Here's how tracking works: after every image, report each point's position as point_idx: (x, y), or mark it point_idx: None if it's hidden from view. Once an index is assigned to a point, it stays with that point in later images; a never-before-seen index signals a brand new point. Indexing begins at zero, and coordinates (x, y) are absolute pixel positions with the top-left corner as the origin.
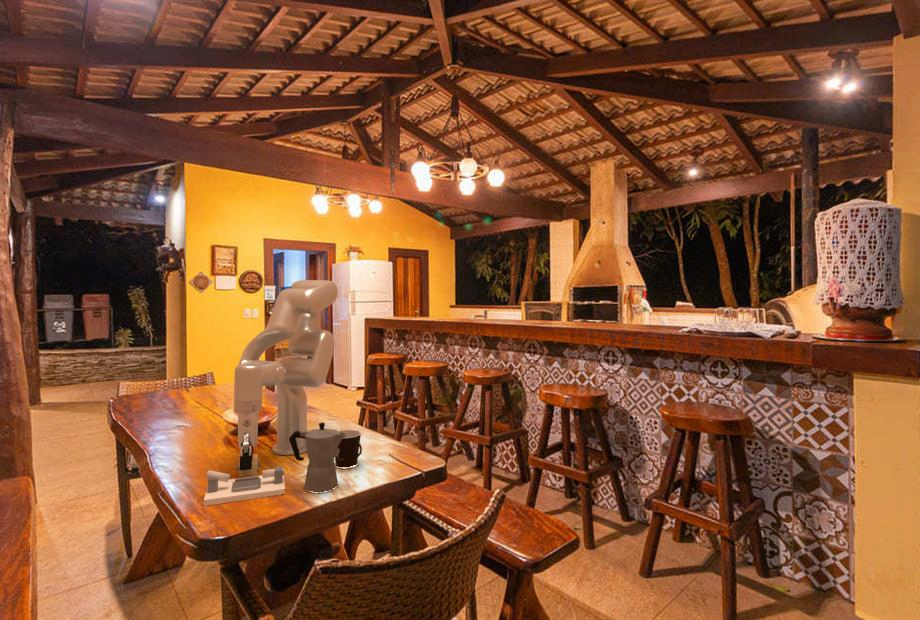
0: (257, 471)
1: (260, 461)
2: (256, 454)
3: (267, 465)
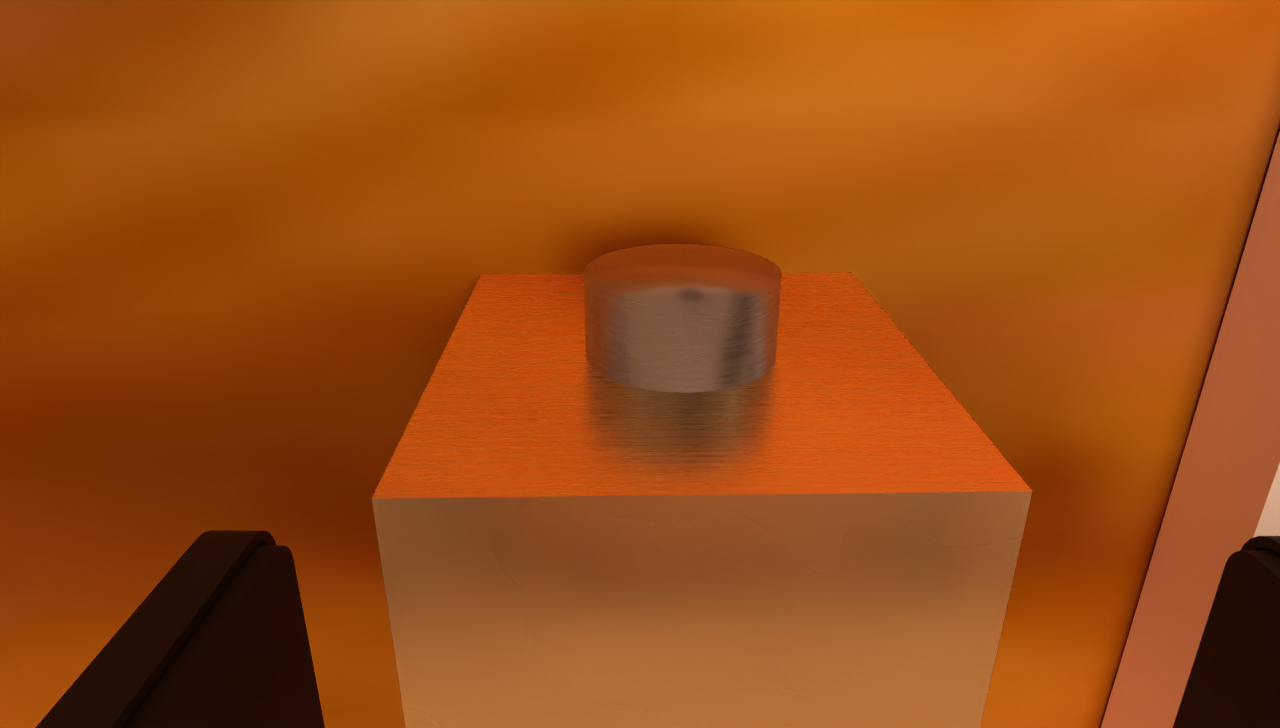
0: (857, 301)
1: (719, 305)
2: (459, 540)
3: (198, 32)
